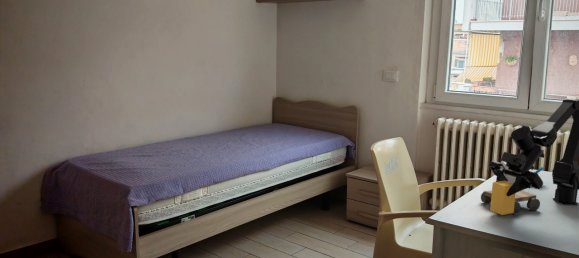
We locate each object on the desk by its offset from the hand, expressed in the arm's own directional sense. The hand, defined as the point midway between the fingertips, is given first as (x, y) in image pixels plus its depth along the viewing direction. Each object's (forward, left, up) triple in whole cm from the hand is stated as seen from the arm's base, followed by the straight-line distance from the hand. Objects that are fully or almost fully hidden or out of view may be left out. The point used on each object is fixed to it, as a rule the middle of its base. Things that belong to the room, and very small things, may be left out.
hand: (500, 193), depth 169 cm
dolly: (-9, -10, -8) cm, 15 cm away
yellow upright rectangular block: (-1, -1, -7) cm, 7 cm away
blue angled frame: (-35, -40, -8) cm, 53 cm away
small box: (-21, -34, -8) cm, 41 cm away
